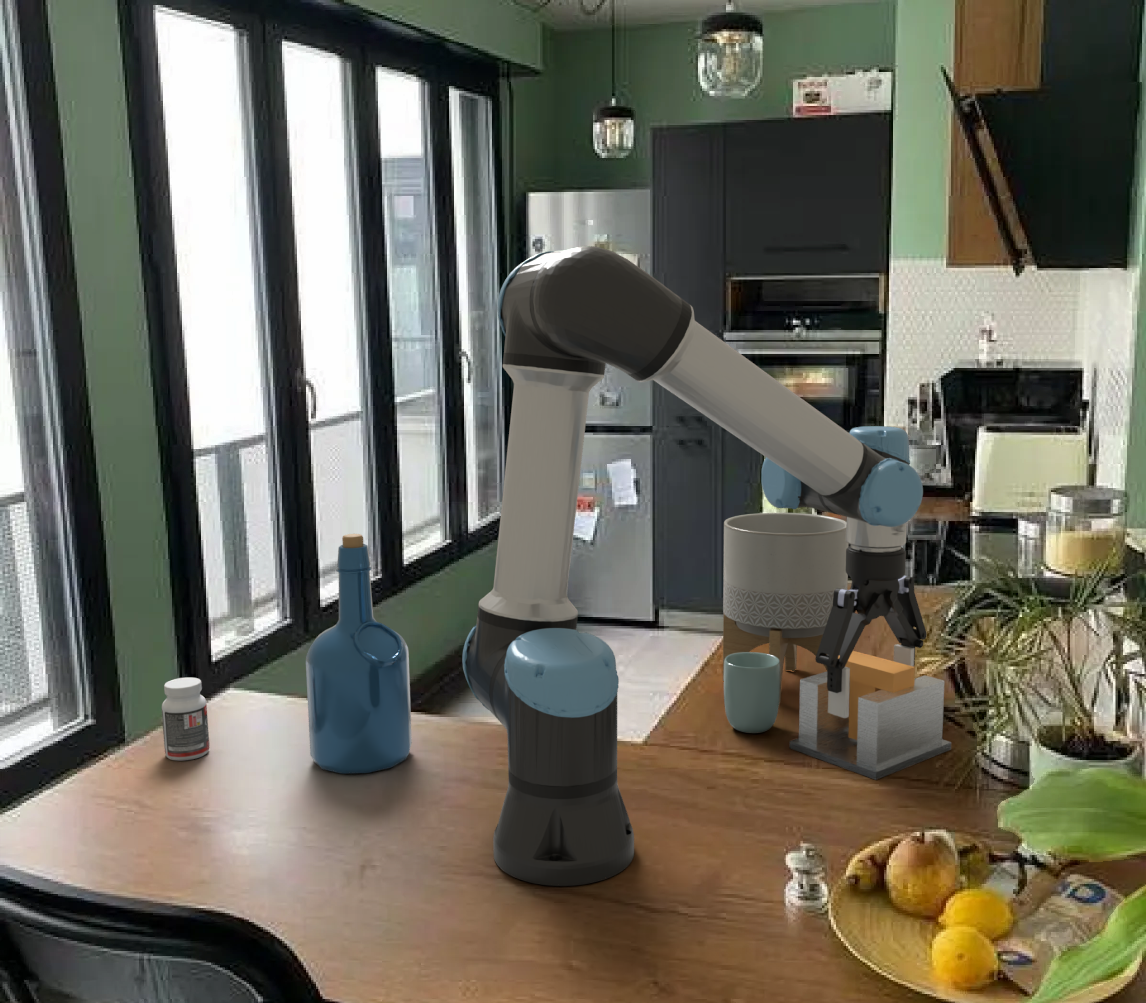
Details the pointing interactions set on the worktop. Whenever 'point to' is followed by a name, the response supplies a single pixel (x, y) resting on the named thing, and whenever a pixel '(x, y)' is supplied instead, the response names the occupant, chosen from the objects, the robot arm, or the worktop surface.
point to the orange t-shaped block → (874, 681)
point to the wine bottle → (358, 679)
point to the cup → (751, 691)
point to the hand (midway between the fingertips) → (871, 704)
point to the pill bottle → (185, 720)
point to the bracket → (873, 727)
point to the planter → (780, 582)
